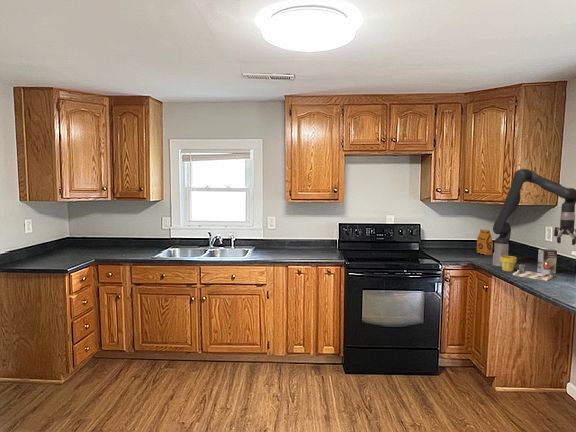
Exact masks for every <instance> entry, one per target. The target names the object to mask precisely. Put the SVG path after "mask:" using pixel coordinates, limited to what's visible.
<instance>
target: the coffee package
mask: <svg viewBox="0 0 576 432" xmlns="http://www.w3.org/2000/svg"><path fill="white" fill-rule="evenodd" d="M476 237H477V238H476V253H477V254H479V253H480V254H479V255H482V254H484V256H493V249H494V245H493V237H492V234H491V231H490V230H489V229H487V230H486V229H479V233H478V235H477V236H476Z"/></svg>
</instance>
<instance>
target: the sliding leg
mask: <svg viewBox="0 0 576 432" xmlns="http://www.w3.org/2000/svg"><path fill="white" fill-rule="evenodd" d="M549 263H550V262H548V261H544V269H542V274H544V275H542V276H543V277H544V276H546V274H547V275H549V274H550V275H551V273H550V269H549Z"/></svg>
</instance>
